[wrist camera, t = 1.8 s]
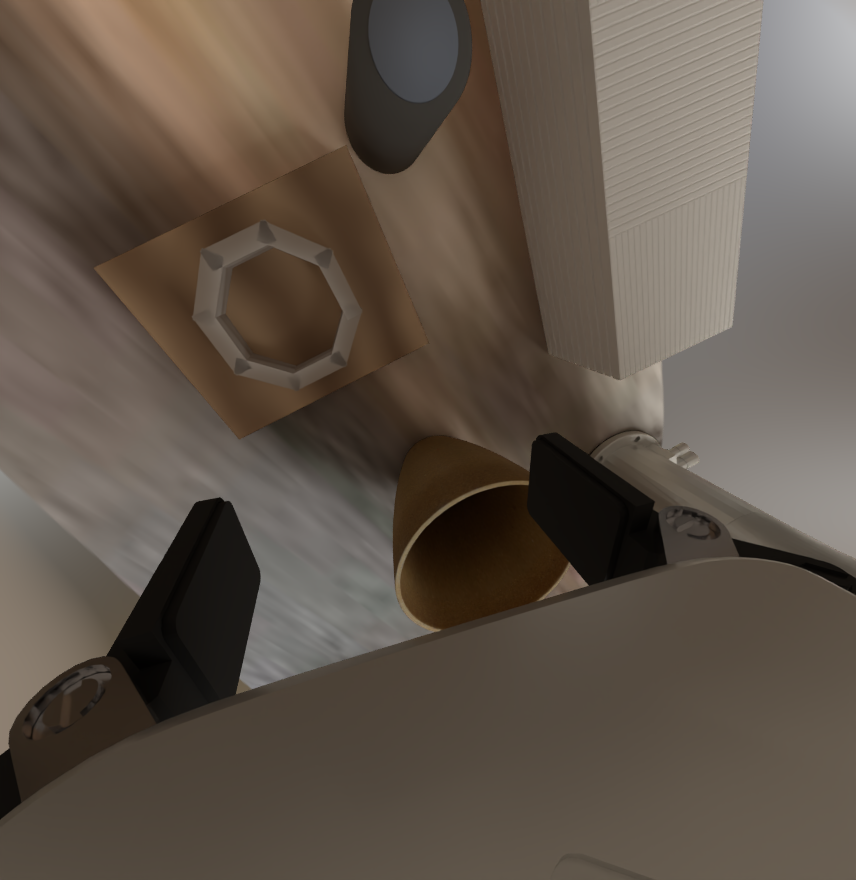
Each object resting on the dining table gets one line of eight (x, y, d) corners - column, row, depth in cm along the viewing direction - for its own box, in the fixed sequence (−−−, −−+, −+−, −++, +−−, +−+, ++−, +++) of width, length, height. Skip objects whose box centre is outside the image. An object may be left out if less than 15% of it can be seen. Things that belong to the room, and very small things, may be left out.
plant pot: (416, 535, 43) (456, 659, 29) (344, 454, 36) (351, 568, 22) (514, 471, 42) (602, 566, 28) (461, 375, 35) (545, 441, 21)
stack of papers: (632, 313, 37) (732, 326, 28) (547, 353, 37) (620, 380, 27) (605, -175, 22) (813, -520, 12) (456, -116, 21) (554, -429, 12)
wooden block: (344, 163, 25) (347, 130, 20) (418, 335, 32) (437, 348, 27) (127, 268, 25) (66, 266, 19) (249, 421, 32) (231, 453, 26)
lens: (404, 52, 24) (447, -83, 15) (436, 154, 27) (488, 93, 18) (328, 88, 23) (325, -25, 15) (368, 187, 26) (387, 143, 18)
